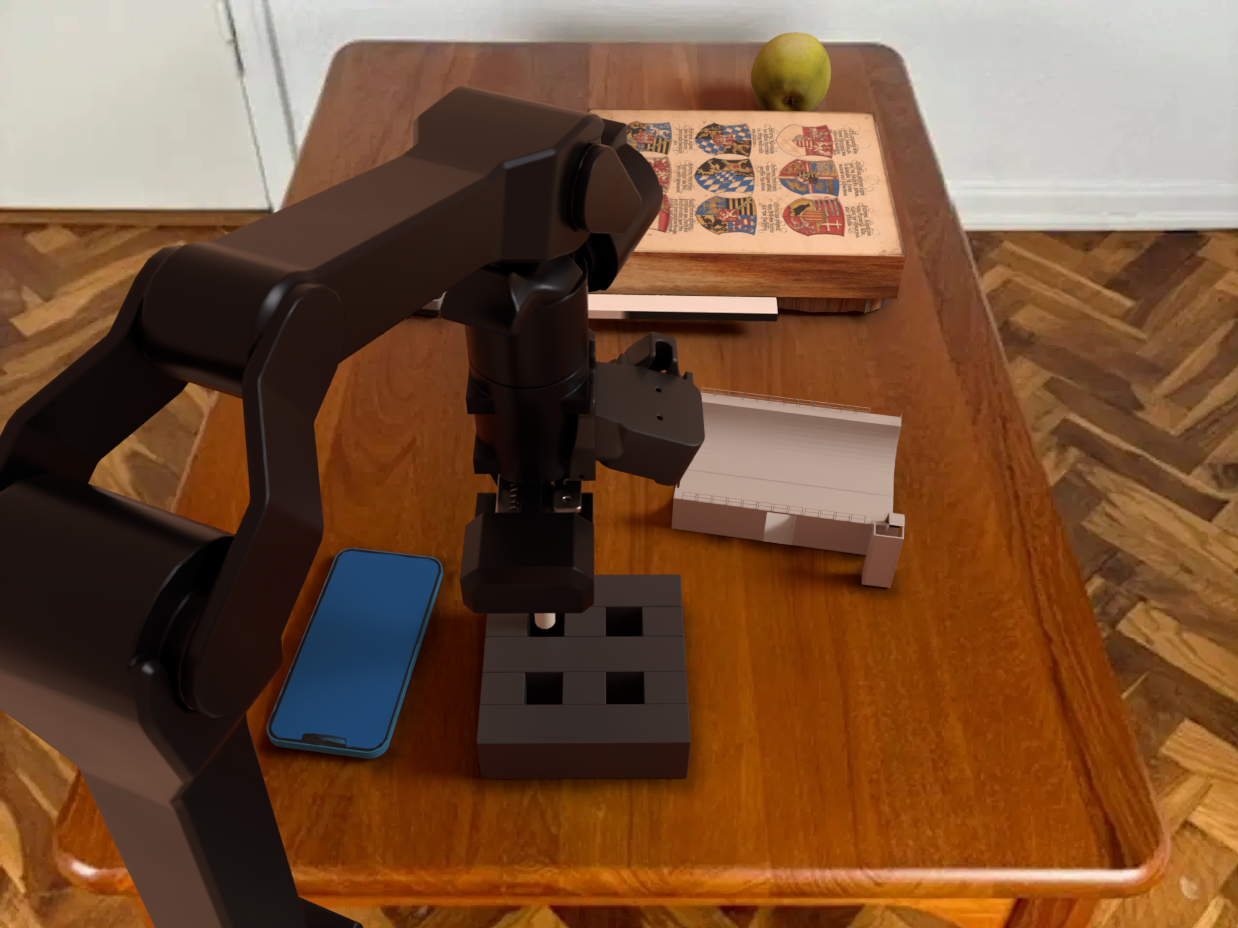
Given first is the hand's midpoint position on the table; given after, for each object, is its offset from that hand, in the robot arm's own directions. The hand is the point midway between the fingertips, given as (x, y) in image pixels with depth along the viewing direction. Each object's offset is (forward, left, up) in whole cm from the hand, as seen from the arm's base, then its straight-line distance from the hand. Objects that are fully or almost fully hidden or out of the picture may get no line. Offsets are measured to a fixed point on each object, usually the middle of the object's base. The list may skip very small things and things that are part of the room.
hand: (541, 558), depth 68 cm
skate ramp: (+19, -9, -10) cm, 23 cm away
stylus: (0, 0, -6) cm, 6 cm away
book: (+45, +6, -10) cm, 46 cm away
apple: (+69, +8, -10) cm, 70 cm away
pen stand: (-1, -3, -10) cm, 11 cm away
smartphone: (-4, +11, -10) cm, 15 cm away
